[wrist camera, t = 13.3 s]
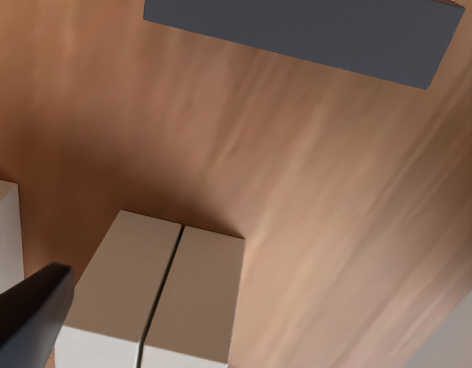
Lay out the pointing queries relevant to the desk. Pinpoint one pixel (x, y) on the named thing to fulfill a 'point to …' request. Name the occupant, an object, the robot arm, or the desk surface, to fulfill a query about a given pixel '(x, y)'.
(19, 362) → the robot arm
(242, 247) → the cream rectangular block
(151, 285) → the cream book
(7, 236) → the plain white rectangular box
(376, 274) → the desk surface
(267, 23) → the dark grey square prism
